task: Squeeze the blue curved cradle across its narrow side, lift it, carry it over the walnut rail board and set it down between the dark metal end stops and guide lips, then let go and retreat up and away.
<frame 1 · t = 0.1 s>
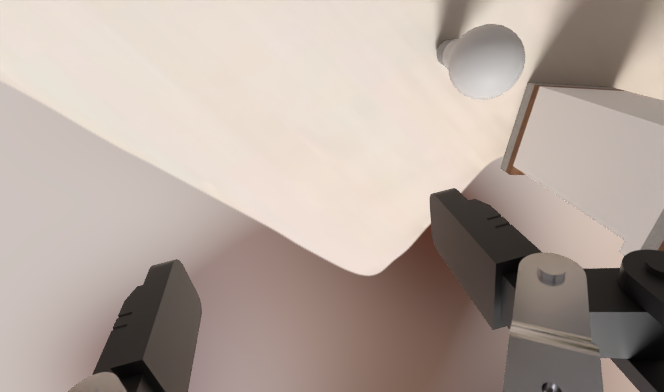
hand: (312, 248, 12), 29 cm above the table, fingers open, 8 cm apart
white square pillar: (553, 128, 46), on the table
lightbulb: (444, 51, 39), on the table
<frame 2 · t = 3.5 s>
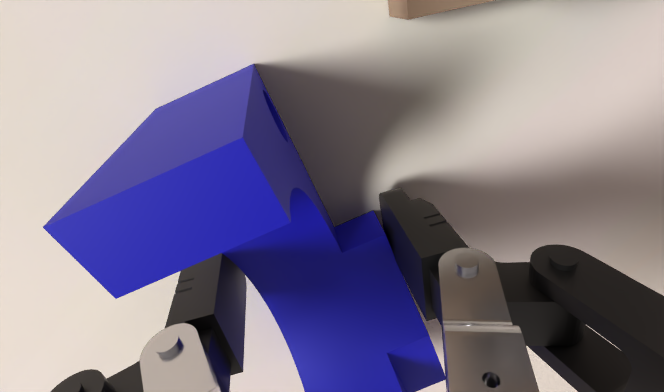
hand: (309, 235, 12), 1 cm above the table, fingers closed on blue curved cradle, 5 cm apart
blue curved cradle: (314, 232, 13), on the table, touching gripper
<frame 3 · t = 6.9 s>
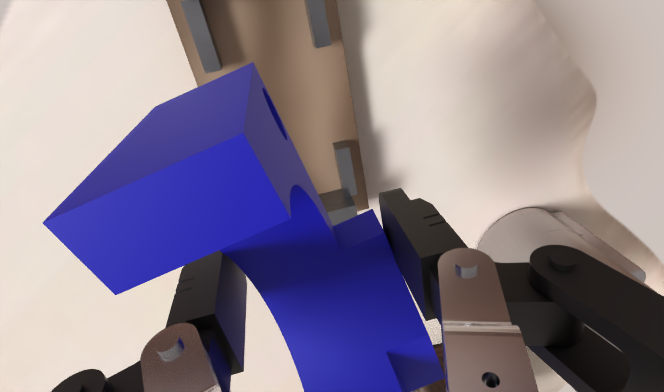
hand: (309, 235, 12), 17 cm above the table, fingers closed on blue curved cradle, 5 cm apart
manual coffee grinder: (447, 378, 48), on the table
blue curved cradle: (313, 231, 13), point 16 cm above the table, touching gripper
clip rail: (280, 102, 27), on the table
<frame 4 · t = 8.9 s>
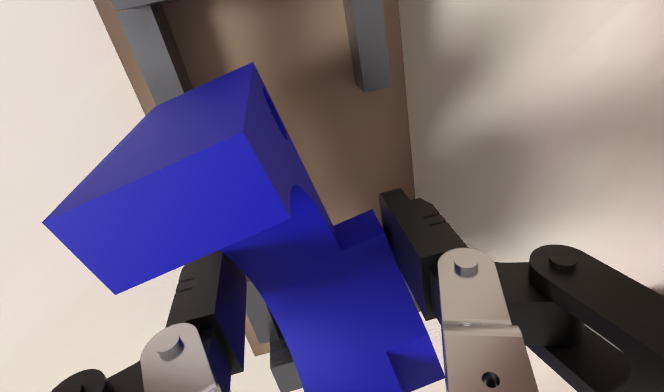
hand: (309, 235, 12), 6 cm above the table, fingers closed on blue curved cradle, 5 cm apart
blue curved cradle: (313, 230, 13), point 5 cm above the table, touching gripper
clip rail: (298, 166, 17), on the table
when the fingers open (3 cm above the table, at t = 10.4 s): blue curved cradle stays where it is, resting on clip rail.
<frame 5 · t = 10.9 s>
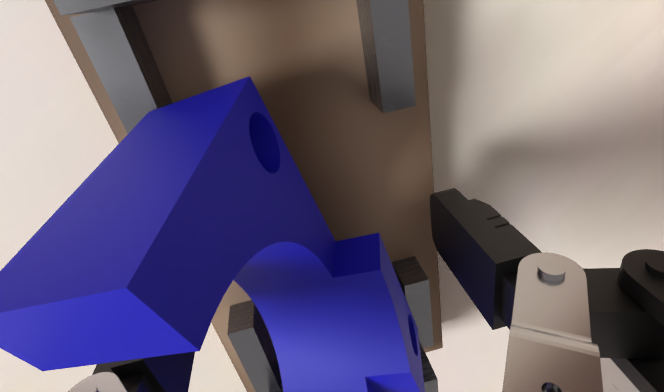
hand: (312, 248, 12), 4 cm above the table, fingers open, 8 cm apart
blue curved cradle: (315, 241, 13), point 3 cm above the table, touching clip rail, gripper
clip rail: (301, 192, 15), on the table
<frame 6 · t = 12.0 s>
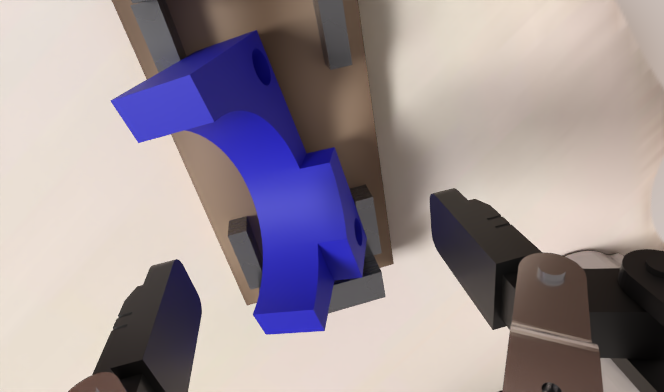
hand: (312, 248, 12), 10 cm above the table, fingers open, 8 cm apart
blue curved cradle: (293, 154, 19), point 2 cm above the table, touching clip rail
clip rail: (280, 136, 20), on the table
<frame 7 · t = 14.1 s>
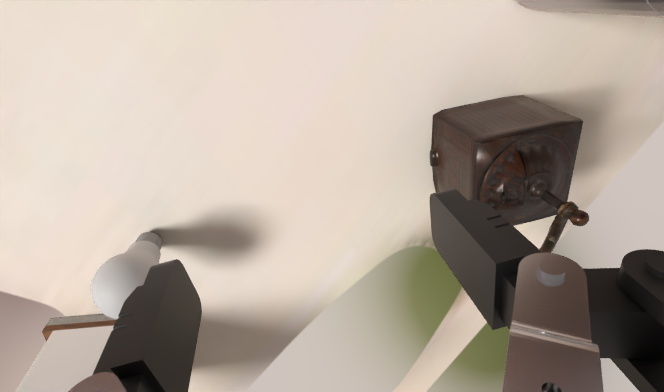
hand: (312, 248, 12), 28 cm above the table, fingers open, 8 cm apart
manual coffee grinder: (471, 165, 44), on the table
white square pillar: (110, 344, 48), on the table
lightbulb: (152, 236, 42), on the table
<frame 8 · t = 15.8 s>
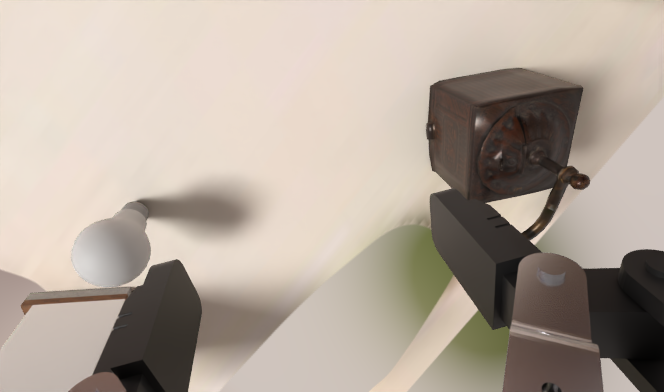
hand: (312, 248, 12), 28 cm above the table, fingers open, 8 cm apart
manual coffee grinder: (467, 141, 43), on the table
white square pillar: (93, 323, 46), on the table
lightbulb: (138, 207, 40), on the table
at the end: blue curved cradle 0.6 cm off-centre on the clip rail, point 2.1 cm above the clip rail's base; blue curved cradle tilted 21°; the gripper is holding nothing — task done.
